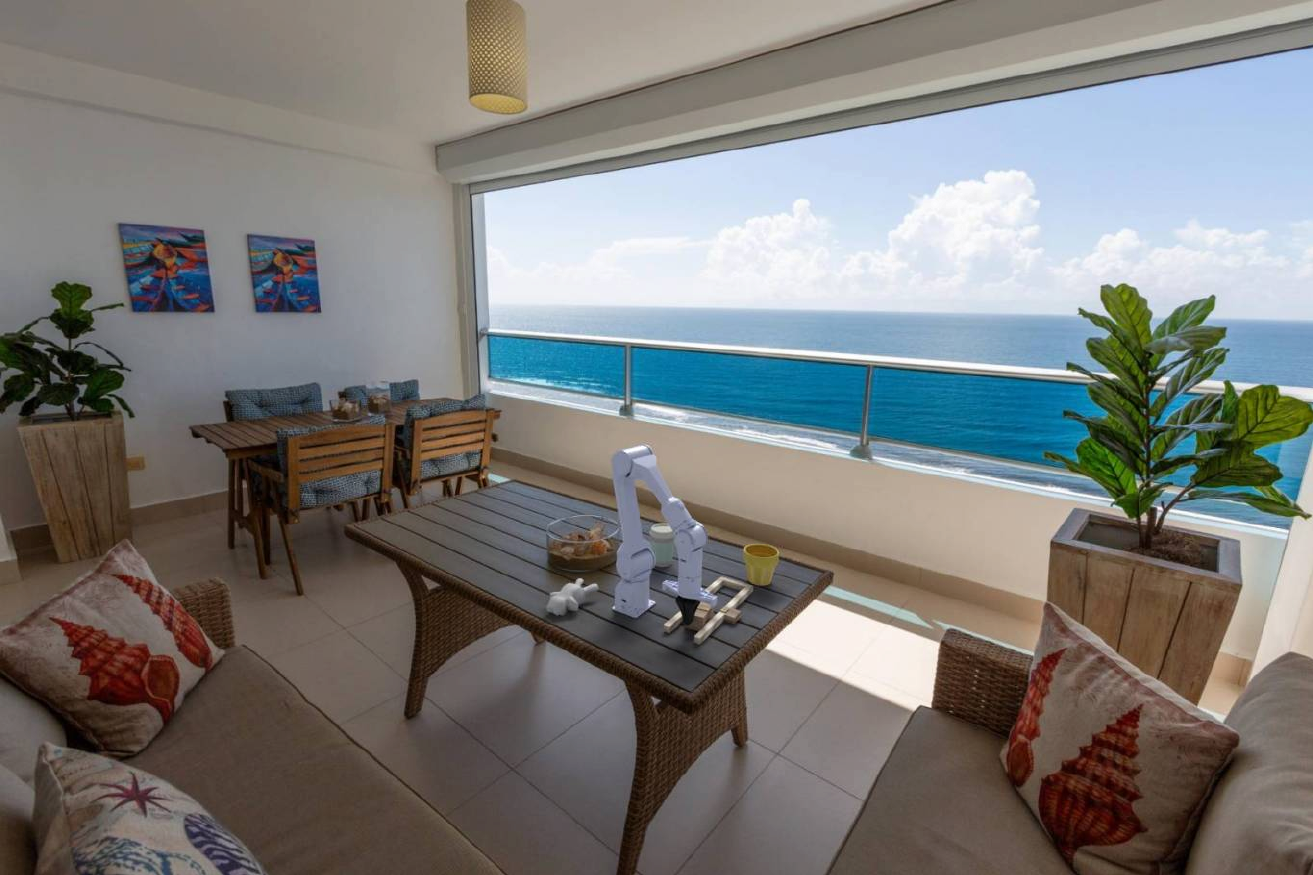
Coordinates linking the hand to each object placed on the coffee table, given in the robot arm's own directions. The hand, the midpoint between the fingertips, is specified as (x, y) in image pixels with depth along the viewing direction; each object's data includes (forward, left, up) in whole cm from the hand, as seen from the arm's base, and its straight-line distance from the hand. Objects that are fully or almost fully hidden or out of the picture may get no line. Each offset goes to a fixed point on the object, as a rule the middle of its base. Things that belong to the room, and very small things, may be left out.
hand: (688, 623), depth 138 cm
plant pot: (+36, -4, -3) cm, 36 cm away
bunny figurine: (-7, +33, -3) cm, 34 cm away
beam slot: (+13, -1, -2) cm, 13 cm away
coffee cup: (+29, +26, -3) cm, 39 cm away
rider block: (+6, 0, -2) cm, 6 cm away
